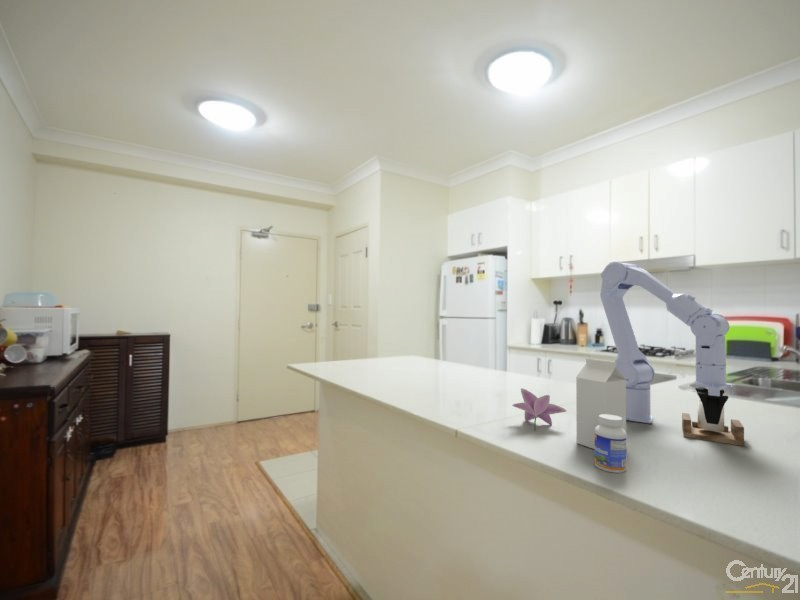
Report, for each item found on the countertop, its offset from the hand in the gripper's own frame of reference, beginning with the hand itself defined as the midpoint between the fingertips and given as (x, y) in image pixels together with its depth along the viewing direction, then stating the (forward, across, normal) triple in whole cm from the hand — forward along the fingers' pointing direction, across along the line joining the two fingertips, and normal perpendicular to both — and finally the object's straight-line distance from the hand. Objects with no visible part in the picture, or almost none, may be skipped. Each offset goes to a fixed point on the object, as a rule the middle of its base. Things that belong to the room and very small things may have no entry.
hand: (711, 420), depth 93 cm
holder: (+4, 0, 0) cm, 4 cm away
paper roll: (+2, 0, 0) cm, 2 cm away
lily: (+4, -16, +36) cm, 40 cm away
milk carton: (+4, -23, +21) cm, 31 cm away
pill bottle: (+4, -35, +18) cm, 40 cm away
